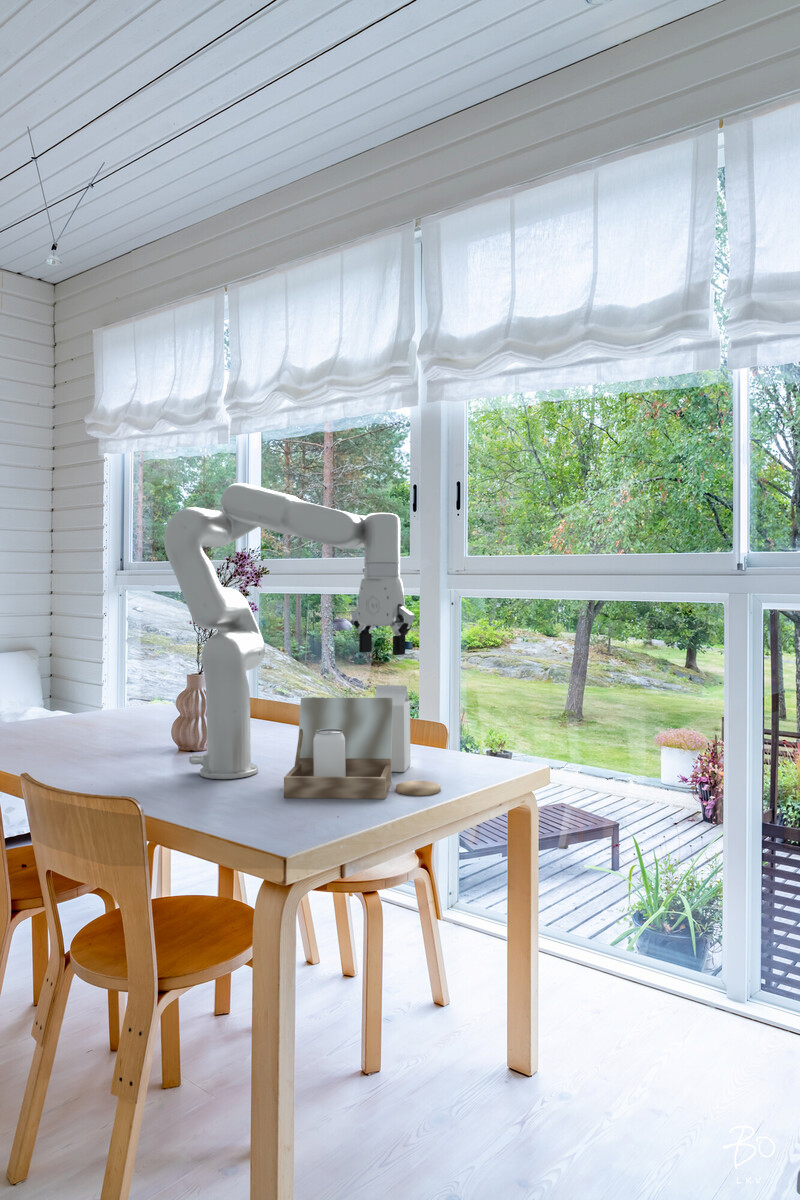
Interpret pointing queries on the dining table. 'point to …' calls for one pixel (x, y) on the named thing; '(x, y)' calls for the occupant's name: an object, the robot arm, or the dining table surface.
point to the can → (329, 753)
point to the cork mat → (418, 788)
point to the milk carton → (398, 724)
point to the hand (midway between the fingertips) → (381, 653)
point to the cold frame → (363, 748)
